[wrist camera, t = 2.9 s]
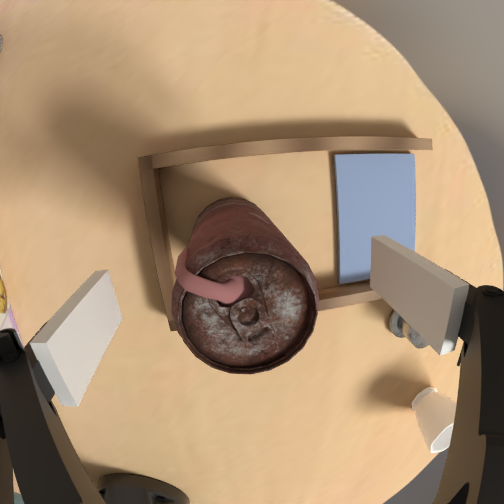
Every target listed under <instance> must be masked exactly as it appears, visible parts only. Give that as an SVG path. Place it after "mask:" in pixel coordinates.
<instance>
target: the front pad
mask: <svg viewBox="0 0 504 504" xmlns="http://www.w3.org/2000/svg"><path fill="white" fill-rule="evenodd" d="M333 156H334V169H335V183H336V201H337V223H338V271H339V284H344V283H350V282H356V281H361V280H367V279H370V271H371V237H372V236H380V235H385V236H387V237H389V238H391V239H393V240H394V241H396V242H398V243H400V244H402V245H403V246H405V247H407V248H409V249H411V250H412V251H414V250H415V226H416V181H415V157H414V154H342V155H333Z"/></svg>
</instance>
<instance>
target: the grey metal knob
mask: <svg viewBox="0 0 504 504" xmlns="http://www.w3.org/2000/svg"><path fill="white" fill-rule="evenodd" d="M389 328H390V330H391V332H392V333H393V334H394V335H395V336H397V337H400V338H403V337H406V338H407V339H408V340H409V341H410V342H411V343H412V344H413V345H414V346H415V347H416V348H424V347H426V346H428V345H429V344H428V343H427V342H426V341H425V340H424V339H423V338H422V337H421V336H420V335H419V334H418V333H417V332H416V331H415V330H414V329H413V328H412V327H411V326H410V325H409V324H408V323H407V322H406V321H405V320H404V319H403V318H402V317H401V316H400V315H399V314H398V313H397V312H396V311H395V310H394V309H393V311H392V313H391V315H390V318H389Z"/></svg>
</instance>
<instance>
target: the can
mask: <svg viewBox="0 0 504 504" xmlns="http://www.w3.org/2000/svg"><path fill="white" fill-rule="evenodd" d="M175 276H176V281H175V284H174V287H173V290H172V310H171V313H172V316H173V319H174V322H175V325H176V328H177V331H178V333H179V335H180V336H181V337H182V338H183V341H184V343H185V344H186V345H187V346H188V348H189V349H190V350H191V352H192V353H193V354H194V355H195V357H197V358H198V359H200V360H201V361H203V362H204V363H206V364H207V365H209V366H210V367H212V368H215V369H218V370H221V371H224V372H228V373H232V374H255V373H260V372H264V371H269V370H272V369H274V368H276V367H278V366H280V365H282V364H284V363H286V362H288V361H289V360H290V359H291V358H293V357H294V356H295V355H296V354H297V353H298V352H299V351H300V350H301V349H303V347H304V346H305V344H306V343H307V341H308V339H309V338H310V336H311V334H312V333H313V330H314V326H315V322H316V318H317V314H318V312H317V311H318V307H319V294H318V285H317V281H316V279H315V277H314V275H313V273H312V271H311V269H310V267H309V265H308V263H307V262H306V261H305V259H304V258H303V257H302V256H301V255H300V254H299V252H298V251H297V250H296V249H295V248H294V247H293V245H292V244H291V243H290V242H289V241H288V240H287V238H286V237H285V236H284V235H283V234H282V233H281V232H280V230H279V229H278V228H277V227H276V226H275V225H274V224H273V222H272V221H271V220H270V219H269V218H268V217H267V216H266V214H265V213H264V212H263V211H262V210H261V209H260V208H258V207H257V206H256V205H255V204H254V203H252V202H249V201H247V200H245V199H241V198H232V197H230V198H226V199H221V200H218V201H216V202H214V203H212V204H211V205H209V206H207V207H206V209H205V210H204V211H203V212H202V213H201V214H200V215H199V217H198V220H197V222H196V224H195V227H194V229H193V232H192V235H191V238H190V240H189V243H188V246H187V248H185V249H184V250H183V251H182V253H181V254H180V255H179V256H178V260H177V265H176V270H175Z"/></svg>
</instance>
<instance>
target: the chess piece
mask: <svg viewBox="0 0 504 504" xmlns="http://www.w3.org/2000/svg"><path fill="white" fill-rule="evenodd" d="M2 44H3V38H2V36H1V35H0V51H1V48H2Z"/></svg>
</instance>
